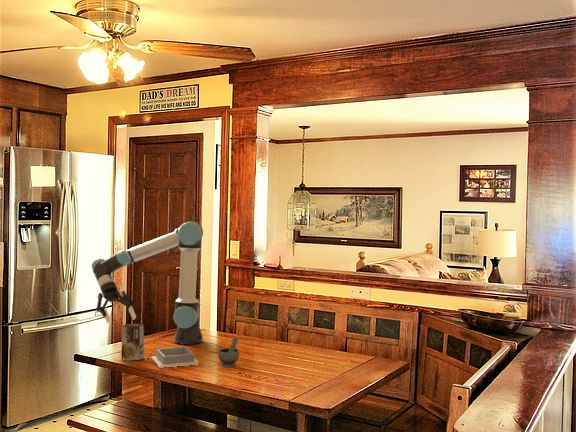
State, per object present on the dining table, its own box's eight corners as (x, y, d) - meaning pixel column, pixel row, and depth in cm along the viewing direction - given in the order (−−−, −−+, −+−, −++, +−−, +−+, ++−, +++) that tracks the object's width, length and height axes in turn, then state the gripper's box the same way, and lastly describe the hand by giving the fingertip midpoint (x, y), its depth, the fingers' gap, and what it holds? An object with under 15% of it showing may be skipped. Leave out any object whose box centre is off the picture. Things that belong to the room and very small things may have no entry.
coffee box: (144, 357, 289) (144, 324, 289) (139, 361, 283) (140, 326, 283) (125, 357, 290) (126, 323, 290) (120, 360, 284) (121, 325, 284)
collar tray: (188, 356, 293) (189, 346, 293) (198, 365, 277) (199, 354, 277) (151, 359, 286) (151, 348, 286) (159, 368, 270) (159, 357, 270)
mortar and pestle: (230, 369, 270) (230, 342, 270) (213, 366, 275) (214, 340, 275) (245, 364, 280) (245, 338, 280) (228, 361, 285) (229, 335, 285)
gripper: (127, 288, 315) (142, 321, 305) (81, 292, 298) (95, 327, 288) (132, 279, 312) (147, 312, 301) (86, 282, 294) (100, 317, 284)
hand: (122, 319), depth 294 cm, fingers open, 13 cm apart
